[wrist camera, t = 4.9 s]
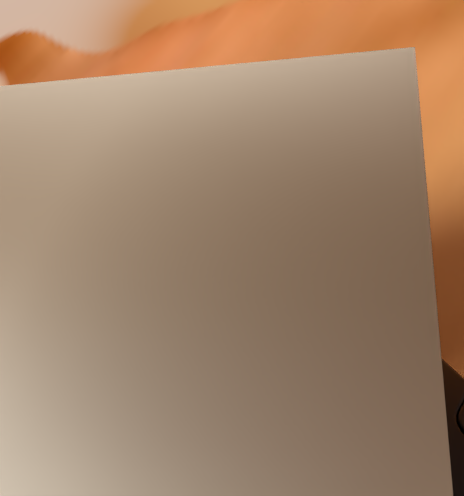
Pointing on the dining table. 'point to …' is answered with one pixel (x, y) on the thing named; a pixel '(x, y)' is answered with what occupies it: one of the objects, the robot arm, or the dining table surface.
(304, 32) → the dining table surface
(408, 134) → the keyhole post
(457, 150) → the dining table surface
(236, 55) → the dining table surface
